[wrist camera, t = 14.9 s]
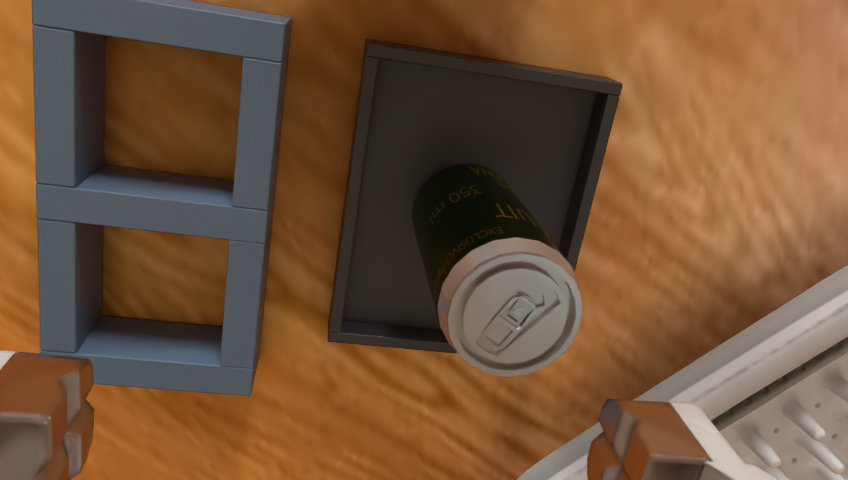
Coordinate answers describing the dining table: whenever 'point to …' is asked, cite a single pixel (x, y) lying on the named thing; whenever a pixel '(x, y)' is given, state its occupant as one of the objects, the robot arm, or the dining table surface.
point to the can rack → (151, 192)
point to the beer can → (494, 273)
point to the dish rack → (762, 392)
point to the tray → (446, 146)
